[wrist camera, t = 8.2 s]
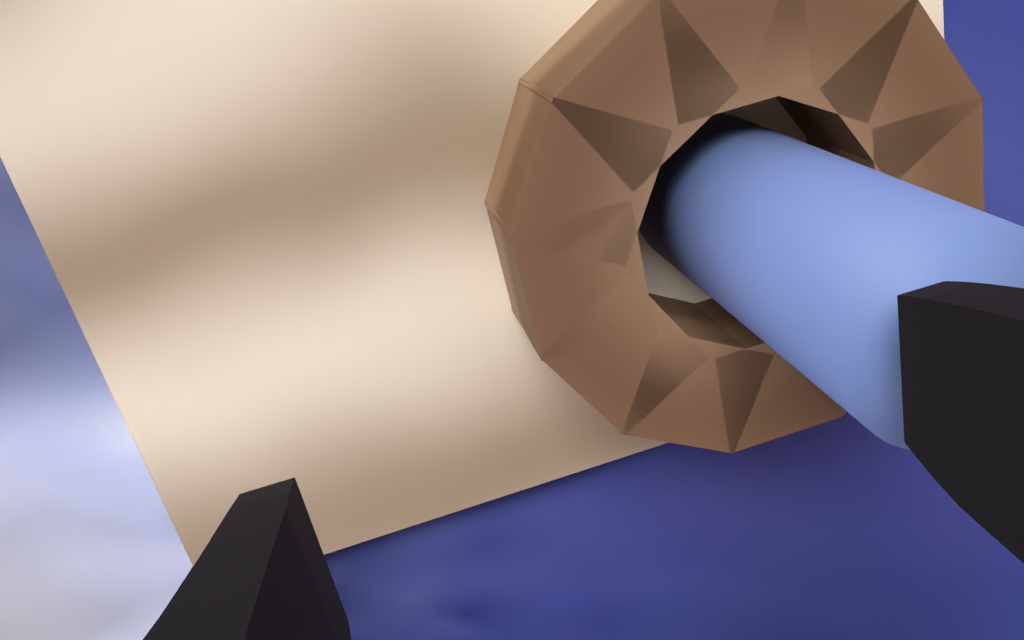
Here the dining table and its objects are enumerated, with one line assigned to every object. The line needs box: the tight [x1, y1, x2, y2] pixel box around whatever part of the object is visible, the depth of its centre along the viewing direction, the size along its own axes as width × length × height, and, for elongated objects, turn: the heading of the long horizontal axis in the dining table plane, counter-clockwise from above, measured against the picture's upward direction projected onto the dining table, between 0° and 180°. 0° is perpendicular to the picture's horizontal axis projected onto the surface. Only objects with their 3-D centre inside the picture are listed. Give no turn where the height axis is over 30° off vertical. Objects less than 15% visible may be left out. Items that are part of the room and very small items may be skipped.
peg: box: [639, 113, 1024, 450], centre depth 16 cm, size 3×3×8 cm
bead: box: [484, 0, 985, 454], centre depth 18 cm, size 9×9×2 cm
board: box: [0, 0, 944, 566], centre depth 19 cm, size 14×18×1 cm
